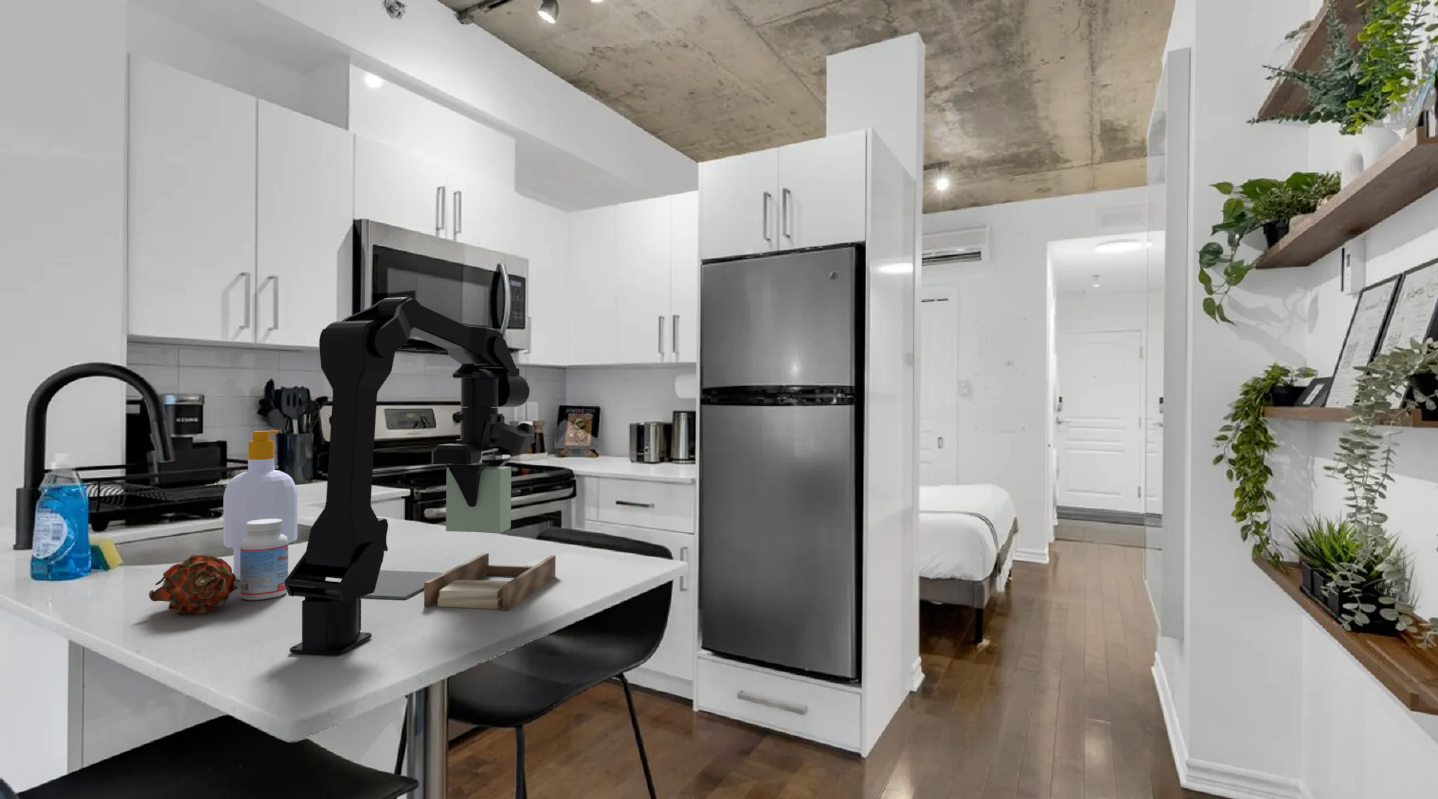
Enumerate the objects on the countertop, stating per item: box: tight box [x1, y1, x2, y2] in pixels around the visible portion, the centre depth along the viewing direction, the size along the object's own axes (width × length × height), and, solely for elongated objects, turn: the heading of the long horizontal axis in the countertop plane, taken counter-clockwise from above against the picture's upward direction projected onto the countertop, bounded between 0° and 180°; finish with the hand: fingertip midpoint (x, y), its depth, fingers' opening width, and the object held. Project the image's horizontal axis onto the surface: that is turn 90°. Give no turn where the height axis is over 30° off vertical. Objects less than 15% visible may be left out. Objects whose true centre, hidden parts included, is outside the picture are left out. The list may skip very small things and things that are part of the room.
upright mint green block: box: [445, 466, 512, 534], centre depth 112 cm, size 4×9×10 cm, turn 82°
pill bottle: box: [239, 519, 289, 601], centre depth 105 cm, size 6×6×11 cm
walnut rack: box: [423, 552, 557, 612], centre depth 109 cm, size 19×13×4 cm, turn 173°
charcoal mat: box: [360, 569, 444, 600], centre depth 111 cm, size 14×14×1 cm
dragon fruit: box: [148, 554, 239, 615], centre depth 98 cm, size 8×8×12 cm
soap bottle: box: [222, 429, 298, 581], centre depth 116 cm, size 10×10×24 cm
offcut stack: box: [437, 579, 510, 610], centre depth 103 cm, size 6×9×2 cm
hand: (478, 504), depth 112 cm, fingers closed on upright mint green block, 4 cm apart
